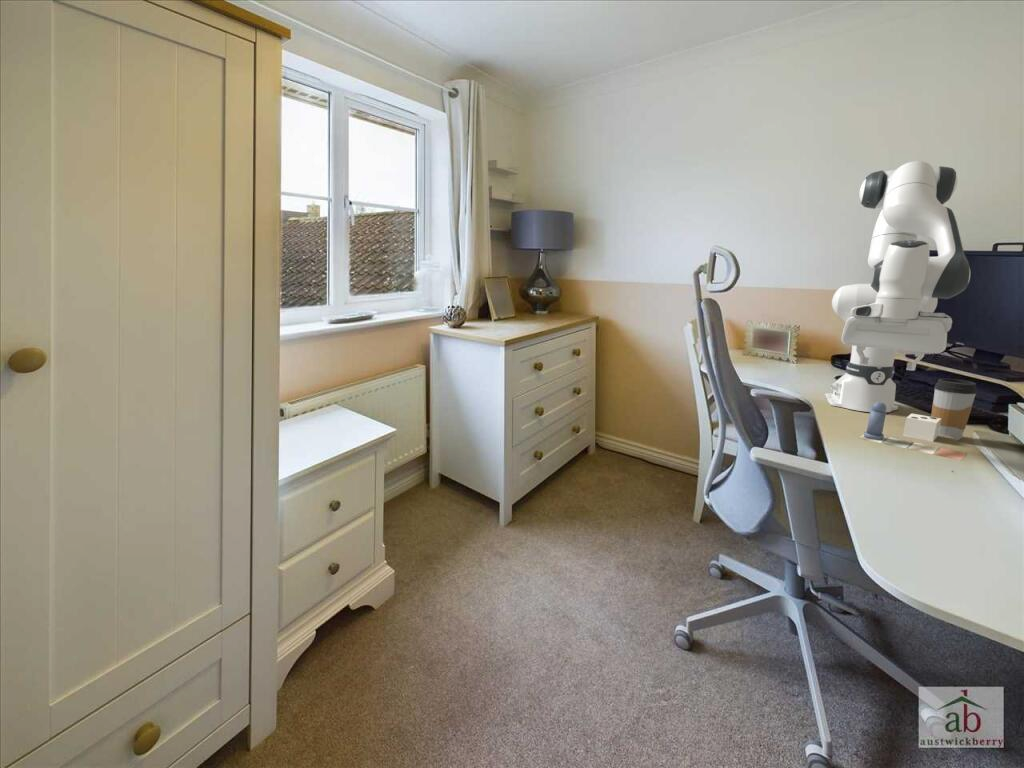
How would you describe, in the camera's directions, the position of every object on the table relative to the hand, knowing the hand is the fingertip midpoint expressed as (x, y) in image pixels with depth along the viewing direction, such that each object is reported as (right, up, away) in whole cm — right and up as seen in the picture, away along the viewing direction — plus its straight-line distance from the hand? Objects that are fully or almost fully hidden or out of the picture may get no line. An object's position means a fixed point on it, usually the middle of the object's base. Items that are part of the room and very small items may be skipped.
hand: (886, 367), depth 120 cm
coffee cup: (+22, -18, +9) cm, 30 cm away
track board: (+5, -20, -1) cm, 21 cm away
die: (+13, -19, +6) cm, 24 cm away
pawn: (0, -18, +4) cm, 18 cm away
